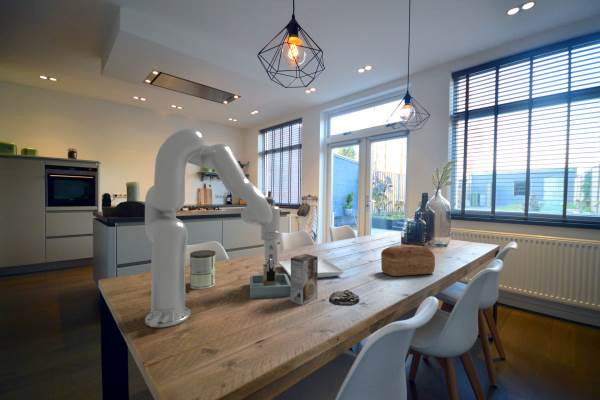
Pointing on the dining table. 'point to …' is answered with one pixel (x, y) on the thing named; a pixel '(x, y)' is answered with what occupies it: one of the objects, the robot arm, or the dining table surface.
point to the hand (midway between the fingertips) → (269, 277)
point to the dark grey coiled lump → (344, 298)
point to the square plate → (323, 268)
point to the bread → (407, 260)
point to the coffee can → (202, 269)
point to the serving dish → (269, 287)
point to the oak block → (265, 282)
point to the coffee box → (304, 278)
